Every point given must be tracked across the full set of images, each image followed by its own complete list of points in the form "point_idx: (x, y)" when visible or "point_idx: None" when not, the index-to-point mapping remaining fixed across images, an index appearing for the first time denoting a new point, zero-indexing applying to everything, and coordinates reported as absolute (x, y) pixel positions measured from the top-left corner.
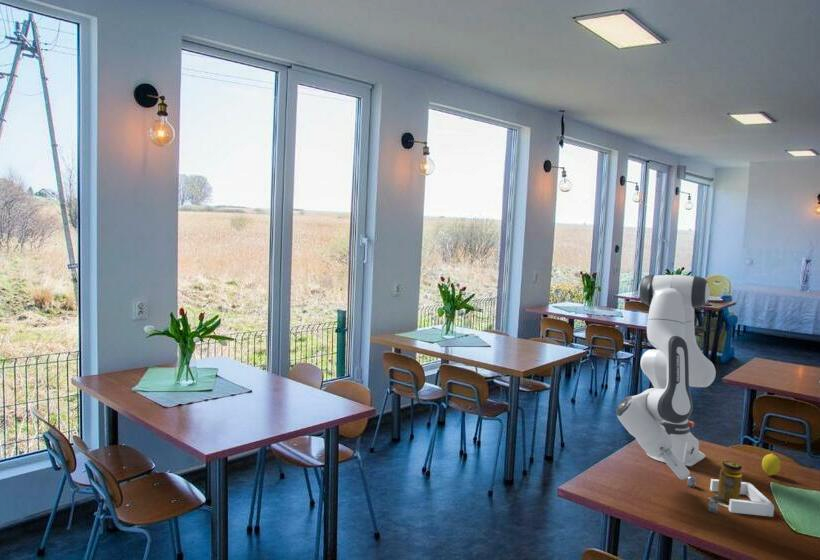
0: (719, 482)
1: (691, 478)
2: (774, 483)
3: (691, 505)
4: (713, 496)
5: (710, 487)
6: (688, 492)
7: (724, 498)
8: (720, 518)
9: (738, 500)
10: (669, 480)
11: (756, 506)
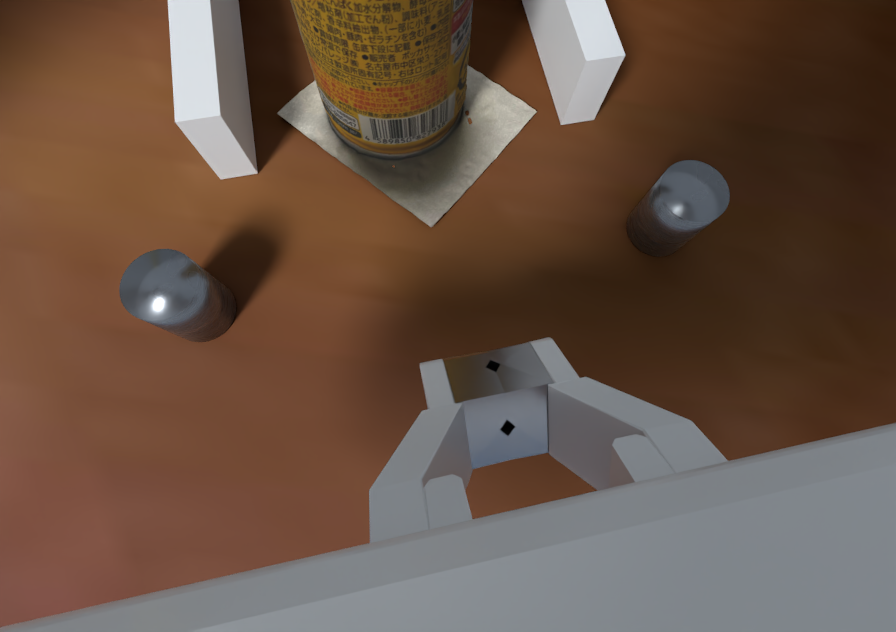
0: (396, 54)
1: (194, 294)
2: None
3: (621, 362)
4: (373, 177)
5: (221, 168)
6: (356, 350)
7: (456, 107)
8: (736, 197)
9: (584, 11)
10: (125, 490)
11: None
